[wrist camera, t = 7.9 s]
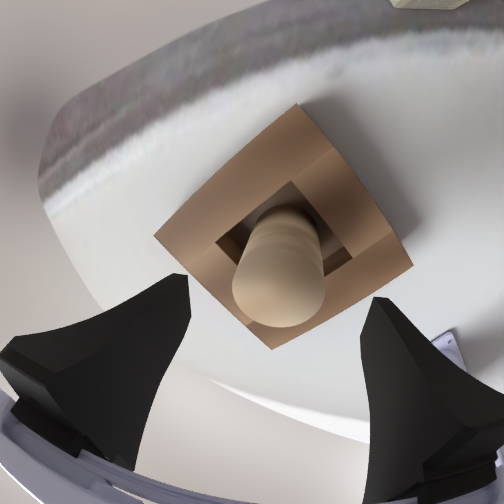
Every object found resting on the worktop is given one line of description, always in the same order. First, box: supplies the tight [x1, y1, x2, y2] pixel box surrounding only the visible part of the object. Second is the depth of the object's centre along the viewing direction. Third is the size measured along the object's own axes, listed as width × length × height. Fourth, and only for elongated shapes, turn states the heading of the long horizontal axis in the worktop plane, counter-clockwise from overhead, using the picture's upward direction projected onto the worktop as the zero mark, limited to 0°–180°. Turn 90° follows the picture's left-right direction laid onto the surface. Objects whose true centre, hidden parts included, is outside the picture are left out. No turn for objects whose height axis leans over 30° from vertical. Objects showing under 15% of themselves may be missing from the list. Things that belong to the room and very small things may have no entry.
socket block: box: [153, 103, 414, 350], centre depth 17 cm, size 11×11×3 cm
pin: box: [232, 205, 325, 327], centre depth 15 cm, size 4×4×6 cm
